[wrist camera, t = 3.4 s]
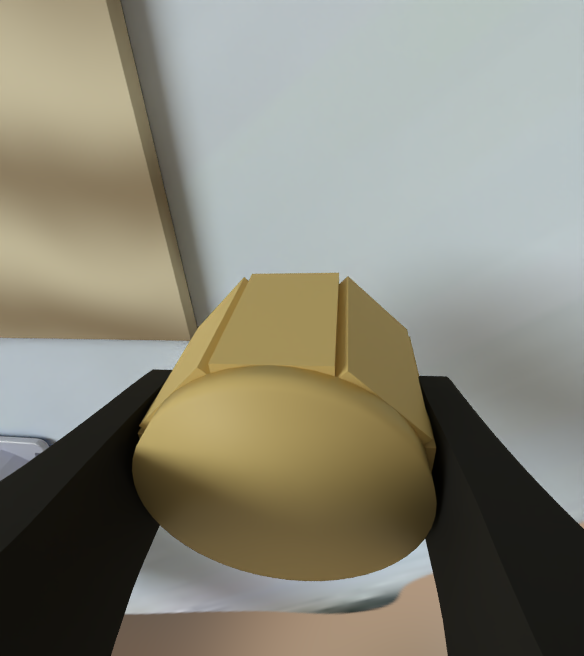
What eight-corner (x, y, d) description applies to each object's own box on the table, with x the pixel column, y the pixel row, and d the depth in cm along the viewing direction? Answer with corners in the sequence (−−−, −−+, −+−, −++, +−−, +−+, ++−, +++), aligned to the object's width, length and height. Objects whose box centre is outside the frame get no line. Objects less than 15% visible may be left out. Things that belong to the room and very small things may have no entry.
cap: (397, 441, 11) (418, 592, 8) (219, 433, 12) (171, 568, 9) (417, 271, 8) (461, 397, 5) (182, 274, 9) (88, 385, 6)
